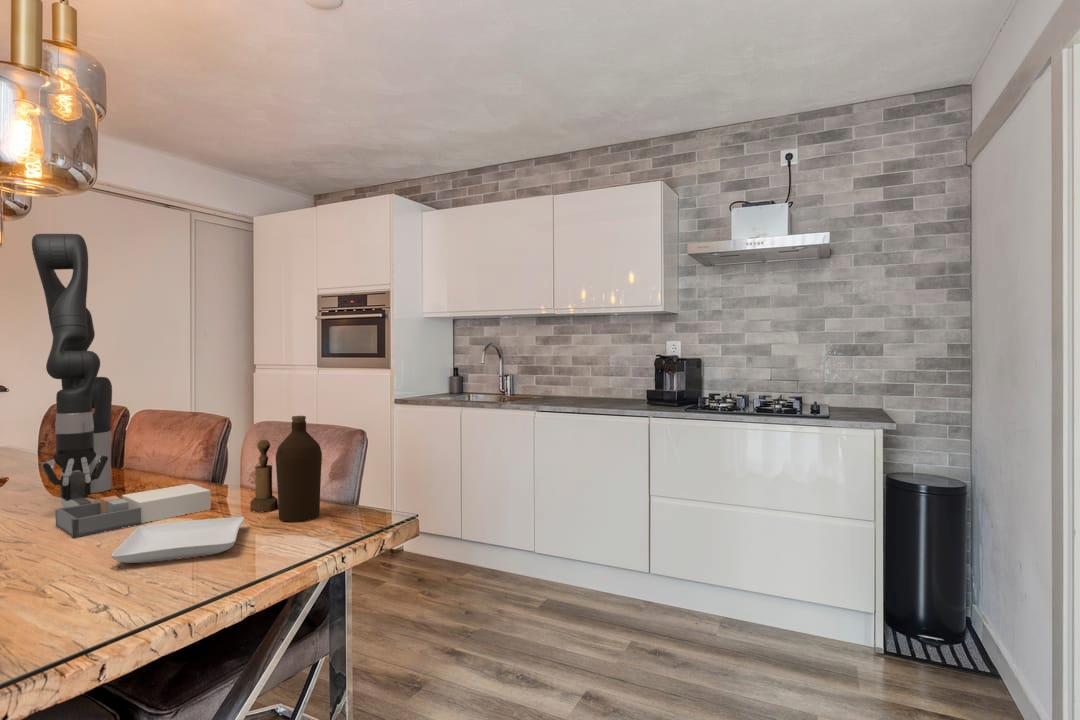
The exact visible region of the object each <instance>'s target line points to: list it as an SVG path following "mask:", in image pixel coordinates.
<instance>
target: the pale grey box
mask: <svg viewBox="0 0 1080 720" xmlns="http://www.w3.org/2000/svg"><path fill="white" fill-rule="evenodd" d="M126 509H129V504H128V502H127V501H125V500H123V499H122V498H121V499H119V500H113V501H107V513H110V512H115V511H121V510H126Z"/></svg>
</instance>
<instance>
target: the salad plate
mask: <svg viewBox="0 0 1080 720" xmlns="http://www.w3.org/2000/svg"><path fill="white" fill-rule="evenodd" d="M244 521H245V517H244V516H235V517H234V516H233V517H218V518H207V519H204V518H203V519H193V520H186V521H183V520H182V521H175V522H167V523H158V524H157V523H156V524H148V525H140V526H138V527H137V528H136V529H135V530H133V532H132V533H131V534H129V536H128V537H127V538H125V540H124V541H123V542H122V543H121V544H120V545H119V546H118V547H117V548H116V549H115V550H114V551H113V552H112V553H111V555H110V557H111V558H112V559H113V560H114V561H117V562H120V563H124V564H125V563H126V564H129V563H130V564H143V563H142V562H149V563H154V562H153V561H159V562H163V561H162V560H168V561H173V560H172V559H177V560H180V559H179V558H186V559H190V558H189V557H194V558H199V557H198V556H203V557H207V556H206V555H210V556H214V555H213V554H215V555H217V554H220V553H222V552H225V551H228V550H229V549H231V548H232V547H234V544H235V543H236V540H237V537H238V533H239V530H240V529H241V526H242V524H243V523H244Z"/></svg>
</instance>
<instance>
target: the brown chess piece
mask: <svg viewBox="0 0 1080 720" xmlns="http://www.w3.org/2000/svg"><path fill="white" fill-rule="evenodd" d="M256 444H257V445H256V447H257V449H258V451H259V452H260V456H258V462H259V465H257V466H255V468H254V470H255V471H254V473H255V477H254V479H255V497H253V499H251V500H250V502H249V504H250V505H249V508H250V512H252V511H255V512H254V513H263V512H262V511H268V512H270V511H269V510H272V511H274V510H273V509H275V508H277V507H278V497H276V496H274V495H273V465H271V464H268V462H269V456H268V455H267V453H268V451H269V449H270V447H271V443H270V441H269V440H268V439H260V440H259V441H257V443H256ZM277 509H278V508H277ZM275 510H276V509H275Z"/></svg>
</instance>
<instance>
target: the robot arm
mask: <svg viewBox="0 0 1080 720" xmlns="http://www.w3.org/2000/svg"><path fill="white" fill-rule="evenodd" d="M31 248H32V255H33V257H34V258H33V259H34V261H35V262H34V263H35V265H36V268H37V272H38V275H39V280H40V281H41V282H40V283H41V286H42V289H43V292H44V297H45V302H46V307H47V314H48V318H49V319H48V321H49V325H50V329H51V333H52V334H51V335H52V343H51V347H50V348H51V349H50V351H49V354H48V357H47V360H46V364H45V365H46V366H45V367H46V368H45V369H46V372H47V374H48V375H49V376H50V377H51V378H52V379H55V380H61V389H60V390H58V391H57V393H56V396H55V397H56V398H55V399H56V401H55V402H56V406H55V407H56V415H55V423H54V424H55V428H54V429H55V453H54V456H53V458H51V459H50V460H48V461H43V462H41V463H40V467H41V469H42V470H43V472H44V474H45V476H46V477H47V479H48V480H49V481H50V482H49V483H51V484H53V485H55V486H60V499H61V498H62V499H64V500H65V501H69V500H70V486H69V485H68V483H69V479H70V475H71V472H78V471H80V472H82V473H84V474H85V499H87V498H88V496H90V495H91V494H98V493H102V492H103V493H104V492H107V491H109V490H112V435H111V431H112V430H111V427H112V426H111V425H112V401H113V385H112V382H111V380H110V379H109V378H108V377H106V376H98V374H99V371H100V367H101V359H100V356H99V355H98V354H97V353H96V352H94V351H93V350H92V351H91V350H89V349H90V347H91V345H92V343H93V341H94V340H95V335H96V334H95V328H94V322H93V317H92V314H91V311H90V310H89V309H88V308H87V294H88V279H89V278H88V277H89V252H88V251H89V250H88V246H87V243H86V241H85V238H84V237H83V236H82V235H81V234H78V233H36V234H34V236H32V239H31ZM57 270H72V275H71V279H70V281H69V283H68V284H67V285H66V287H65V285H64V284H63V283H62V281H61V280H60V278H59V277H58V275H57V272H56V271H57ZM93 409H94V412H93ZM55 464H56V465H57V466H59V468H60V469H61V473H60V478H59V479H58V477H57V475H56V473H55V472H54V469H55Z"/></svg>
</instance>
